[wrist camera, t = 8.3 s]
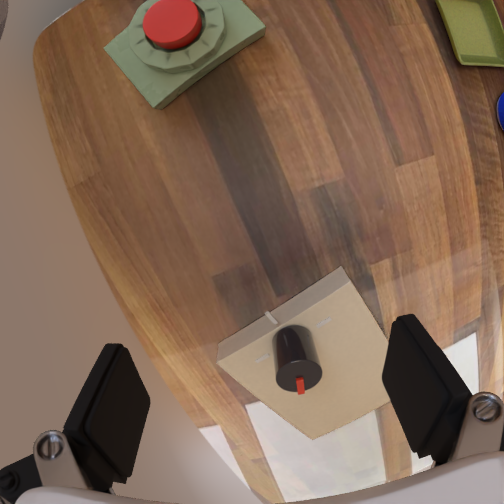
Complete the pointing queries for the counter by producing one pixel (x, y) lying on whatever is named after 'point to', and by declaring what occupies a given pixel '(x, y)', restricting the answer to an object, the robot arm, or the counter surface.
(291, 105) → the counter surface
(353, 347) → the panel
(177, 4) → the button
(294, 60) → the counter surface
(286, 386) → the knob
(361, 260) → the counter surface
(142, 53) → the green button base
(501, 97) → the beverage can
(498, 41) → the green square tray
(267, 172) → the counter surface
